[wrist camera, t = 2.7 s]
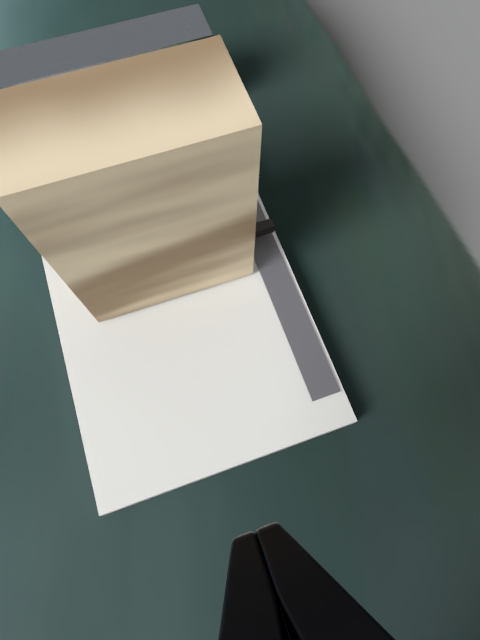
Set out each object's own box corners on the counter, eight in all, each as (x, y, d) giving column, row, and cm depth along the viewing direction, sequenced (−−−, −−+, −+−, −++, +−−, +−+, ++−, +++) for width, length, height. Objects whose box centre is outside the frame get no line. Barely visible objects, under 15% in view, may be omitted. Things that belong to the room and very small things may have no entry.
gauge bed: (352, 423, 21) (359, 420, 20) (105, 514, 20) (97, 516, 19) (204, 81, 29) (203, 64, 28) (19, 130, 28) (8, 113, 26)
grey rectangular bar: (216, 97, 27) (212, 34, 24) (18, 149, 26) (-20, 91, 22) (203, 68, 28) (198, 3, 24) (11, 117, 27) (-26, 57, 23)
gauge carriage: (285, 263, 23) (317, 109, 14) (98, 322, 22) (-7, 198, 13) (258, 201, 24) (271, 22, 15) (81, 253, 23) (-26, 95, 14)
